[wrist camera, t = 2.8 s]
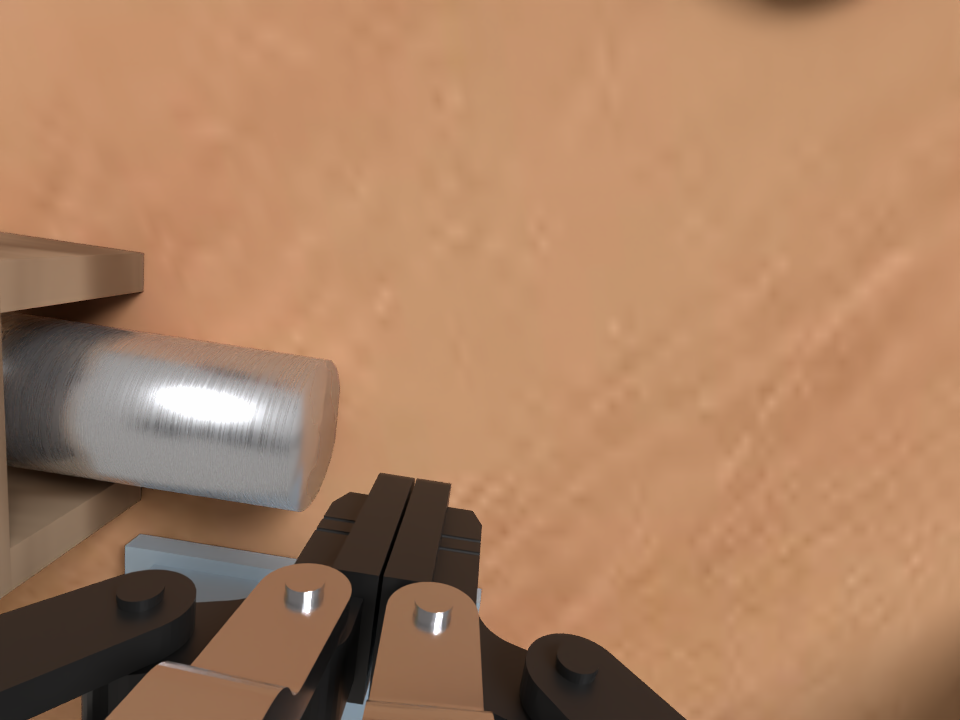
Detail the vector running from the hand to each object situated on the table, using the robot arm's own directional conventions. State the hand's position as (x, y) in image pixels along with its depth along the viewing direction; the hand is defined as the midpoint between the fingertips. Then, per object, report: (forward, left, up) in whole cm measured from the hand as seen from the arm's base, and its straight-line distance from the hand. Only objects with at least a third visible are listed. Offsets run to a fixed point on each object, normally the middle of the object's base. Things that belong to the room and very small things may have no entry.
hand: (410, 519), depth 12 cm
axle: (+10, 0, -7) cm, 12 cm away
